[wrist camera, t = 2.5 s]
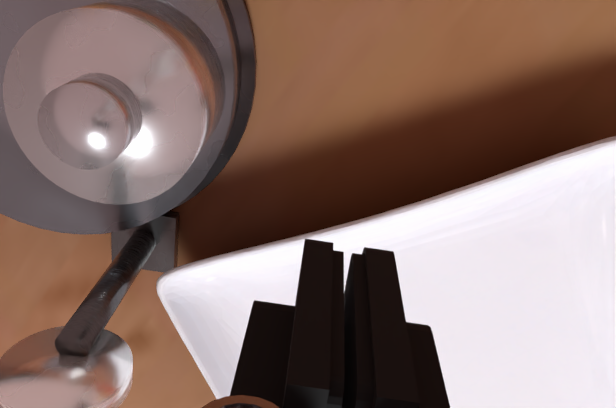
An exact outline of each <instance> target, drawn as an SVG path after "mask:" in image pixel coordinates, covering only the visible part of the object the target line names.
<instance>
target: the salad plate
mask: <svg viewBox="0 0 616 408" xmlns="http://www.w3.org/2000/svg"><path fill="white" fill-rule="evenodd" d="M305 239H311V240H318V241H325V242H332V243H333V250H335V251H342V252H344V291H345V286H346V280H347V275H348V270H349V264H350V259H351V255H352V253H356V254H362V252H363V249H364V247H367V248H374V249H381V250H388V251H394V255H395V261H396V267H397V272H398V278H399V284H400V290H401V296H402V301H403V307H404V313H405V319H406V322H410V323H417V324H424V325H428V326H430V327H431V330H432V333H433V337H434V341H435V345H436V350H437V354H438V358H439V362H440V366H441V371H442V375H443V379H444V383H445V388H446V392H447V396H448V400H449V404H450V408H616V136H613V137H608V138H605V139H602V140H598V141H595V142H592V143H589V144H585V145H582V146H579V147H576V148H573V149H570V150H567V151H564V152H561V153H558V154H555V155H552V156H549V157H546V158H544V159H541V160H538V161H535V162H532V163H529V164H526V165H523V166H520V167H518V168H515V169H512V170H509V171H507V172H504V173H501V174H498V175H496V176H493V177H490V178H487V179H485V180H482V181H479V182H476V183H473V184H470V185H467V186H464V187H461V188H458V189H455V190H452V191H449V192H446V193H443V194H440V195H437V196H434V197H431V198H428V199H425V200H422V201H419V202H415V203H412V204H409V205H406V206H403V207H399V208H396V209H393V210H390V211H387V212H383V213H380V214H377V215H373V216H370V217H366V218H362V219H359V220H355V221H352V222H348V223H344V224H341V225H337V226H333V227H330V228H326V229H322V230H318V231H315V232H311V233H307V234H303V235H299V236H295V237H291V238H287V239H283V240H279V241H275V242H271V243H267V244H263V245H258V246H254V247H250V248H246V249H242V250H238V251H234V252H230V253H226V254H222V255H218V256H214V257H210V258H206V259H203V260H199V261H196V262H192V263H188V264H185V265H182V266H179V267H176V268H173V269H171V270H169V271H167V272H165V273H164V274H162V275H161V276H160V277H159V278H158V280H157V285H156V287H157V293H158V295H159V297H160V299H161V301H162V303H163V305H164V307H165V309H166V311H167V313H168V315H169V317H170V318H171V320H172V322H173V324H174V326H175V328H176V330H177V331H178V333H179V335H180V336H181V338H182V340H183V342H184V343H185V345H186V347H187V348H188V350H189V352H190V354H191V355H192V357H193V359H194V360H195V362H196V364H197V366H198V367H199V369H200V371H201V373H202V375H203V376H204V378H205V380H206V381H207V383H208V385H209V386H210V388H211V390H212V392H213V393H214V395H215V397H216V399H220V398H223V397H226V396H230V392H231V388H232V384H233V380H234V376H235V372H236V368H237V365H238V361H239V357H240V353H241V349H242V345H243V341H244V337H245V333H246V329H247V325H248V321H249V317H250V313H251V309H252V305H253V302H254V300H256V301H263V302H270V303H277V304H284V305H291V306H295V302H296V295H297V288H298V282H299V275H300V268H301V261H302V255H303V248H304V241H305Z"/></svg>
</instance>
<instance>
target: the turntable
mask: <svg viewBox="0 0 616 408" xmlns="http://www.w3.org/2000/svg"><path fill="white" fill-rule="evenodd" d="M101 1H105V0H0V213H1V214H3V215H5V216H8V217H10V218H12V219H15V220H17V221H19V222H22V223H25V224H28V225H32V226H35V227H38V228H41V229H46V230H51V231H56V232H61V233H72V234H104V233H110V232H117V231H123V230H126V229H130V228H133V227H136V226H140V225H142V224H145V223H147V222H149V221H151V220H154V219H156V218H158V217H160V216H162V215H163V214H165V213H166V212H168V211H170V210H171V209H173V208H174V207H176V206H177V205H178V204H179V203H181V202H182V201H183V200H184V199H185V198H186V197H188V196H189V195H190V194H191V193H192V192H193V191H194V189H195V188H196V187H197V186H198V185H199V184H200V183H201V181H202V180H203V179H204V178H205V176H206V175H207V173H208V172H209V170H210V168H211V167H212V165H213V164H214V162H215V161H216V159H217V157H218V156H219V154H220V152H221V151H222V149H223V147H224V145H225V143H226V141H227V139H228V137H229V134H230V132H231V130H232V127H233V124H234V121H235V117H236V114H237V110H238V105H239V99H240V92H241V73H242V64H241V54H240V45H239V39H238V35H237V31H236V27H235V22H234V18H233V15H232V13H231V10H230V7H229V5H228V2H227V0H157V1H160V2H163V3H166V4H168V5H170V6H172V7H174V8H176V9H178V10H179V11H181V12H182V13H184V14H185V15H186V16H188V17H189V18H190V19H191V20H192V21H194V22H195V23H196V24H197V25H198V26H199V27H200V29H201V30H202V31H203V32H204V33H205V34H206V36H207V37H208V39H209V40H210V41H211V43H212V45H213V47H214V48H215V50H216V52H217V54H218V57H219V59H220V62H221V65H222V69H223V73H224V78H225V86H226V94H225V104H224V109H223V113H222V116H221V119H220V121H219V124H218V126H217V128H216V129H215V131H214V133H213V134H212V136H211V137H210V139H209V140H208V141H207V143H206V144H205V146H204V147H203V149H202V150H201V151H200V153H199V154H198V156H197V157H196V159H195V160H194V161H193V163H192V164H191V166H190V167H189V169H188V170H187V171H186V173H185V174H184V175H183V176H182V177H181V179H180V180H179V181H178V182H177V183H176V184H174V185H173V186H172V187H171V188H170V189H168V190H167V191H165V192H164V193H162V194H160V195H158V196H156V197H154V198H152V199H149V200H146V201H142V202H139V203H133V204H121V205H114V204H103V203H99V202H94V201H90V200H87V199H84V198H81V197H78V196H76V195H74V194H72V193H70V192H68V191H66V190H64V189H62V188H61V187H59V186H57V185H56V184H55V183H53V182H52V181H51V180H49V179H48V178H46V177H45V176H44V175H43V174H42V173H41V172H40V171H39V170H38V169H37V168H36V167H35V166H34V165H33V164H32V163H31V162H30V160H29V159H28V158H27V157H26V155H25V154H24V152H23V151H22V150H21V148H20V146H19V145H18V143H17V141H16V139H15V137H14V135H13V133H12V131H11V128H10V126H9V123H8V120H7V116H6V113H5V107H4V101H3V81H4V73H5V69H6V65H7V61H8V59H9V57H10V54H11V52H12V50H13V48H14V47H15V45H16V44H17V42H18V41H19V39H20V38H21V37H22V36H23V35H24V34H25V32H26V31H27V30H29V29H30V28H31V27H32V26H33V25H35V24H36V23H37V22H39V21H41V20H42V19H44V18H46V17H48V16H50V15H53V14H56V13H58V12H61V11H65V10H69V9H73V8H77V7H81V6H85V5H89V4H93V3H97V2H101Z"/></svg>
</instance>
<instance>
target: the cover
mask: <svg viewBox="0 0 616 408" xmlns="http://www.w3.org/2000/svg"><path fill="white" fill-rule="evenodd" d="M225 94H226V86H225V78H224V73H223V69H222V65H221V62H220V59H219V57H218V54H217V52H216V50H215V48H214V47H213V45H212V43H211V41H210V40H209V39H208V37H207V36H206V34H205V33H204V32H203V31H202V30H201V29H200V27H199V26H198V25H197V24H196V23H195V22H194V21H192V20H191V19H190V18H189V17H188V16H186V15H185V14H184V13H182V12H181V11H179V10H178V9H176V8H174V7H172V6H170V5H168V4H166V3H163V2H160V1H157V0H105V1H101V2H97V3H93V4H89V5H85V6H81V7H77V8H73V9H69V10H65V11H61V12H58V13H56V14H53V15H50V16H48V17H46V18H44V19H42V20H41V21H39V22H37V23H36V24H35V25H33V26H32V27H31V28H30V29H29V30H27V31H26V32H25V34H24V35H23V36H22V37H21V38H20V39H19V41H18V42H17V44H16V45H15V47H14V48H13V50H12V52H11V54H10V57H9V59H8V61H7V65H6V69H5V73H4V81H3V101H4V107H5V113H6V116H7V120H8V123H9V126H10V128H11V131H12V133H13V135H14V137H15V139H16V141H17V143H18V145H19V146H20V148H21V150H22V151H23V152H24V154H25V155H26V157H27V158H28V159H29V160H30V162H31V163H32V164H33V165H34V166H35V167H36V168H37V169H38V170H39V171H40V172H41V173H42V174H43V175H44V176H45V177H46V178H48V179H49V180H51V181H52V182H53V183H55V184H56V185H57V186H59V187H61V188H62V189H64V190H66V191H68V192H70V193H72V194H74V195H76V196H78V197H81V198H84V199H87V200H90V201H94V202H99V203H103V204H114V205H121V204H133V203H139V202H142V201H146V200H149V199H152V198H154V197H156V196H158V195H160V194H162V193H164V192H165V191H167V190H168V189H170V188H171V187H172V186H173V185H174V184H176V183H177V182H178V181H179V180H180V179H181V177H182V176H183V175H184V174H185V173H186V171H187V170H188V169H189V167H190V166H191V164H192V163H193V161H194V160H195V159H196V157H197V156H198V154H199V153H200V151H201V150H202V149H203V147H204V146H205V144H206V143H207V141H208V140H209V139H210V137H211V136H212V134H213V133H214V131H215V129H216V128H217V126H218V124H219V121H220V119H221V116H222V113H223V109H224V104H225Z"/></svg>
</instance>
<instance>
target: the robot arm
mask: <svg viewBox="0 0 616 408" xmlns="http://www.w3.org/2000/svg"><path fill="white" fill-rule="evenodd" d="M202 408H450V404H449V400H448V396H447V392H446V388H445V383H444V379H443V375H442V371H441V366H440V362H439V358H438V354H437V350H436V345H435V341H434V337H433V333H432V330H431V327H430V326H428V325H424V324H417V323H410V322H406V319H405V313H404V307H403V301H402V296H401V290H400V284H399V278H398V272H397V267H396V261H395V255H394V251H388V250H381V249H374V248H367V247H364V249H363V252H362V254H356V253H352V255H351V259H350V264H349V270H348V275H347V280H346V286H345V291H344V252H342V251H335V250H333V243H332V242H325V241H318V240H311V239H305V241H304V248H303V255H302V261H301V268H300V275H299V282H298V288H297V295H296V302H295V306H291V305H284V304H277V303H270V302H263V301H256V300H254V302H253V305H252V309H251V313H250V317H249V321H248V325H247V329H246V333H245V337H244V341H243V345H242V349H241V353H240V357H239V361H238V365H237V368H236V372H235V376H234V380H233V384H232V388H231V392H230V396H226V397H223V398H220V399H217V400H214V401H211V402H210V403H208V404H207V405H205V406H204V407H202Z"/></svg>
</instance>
